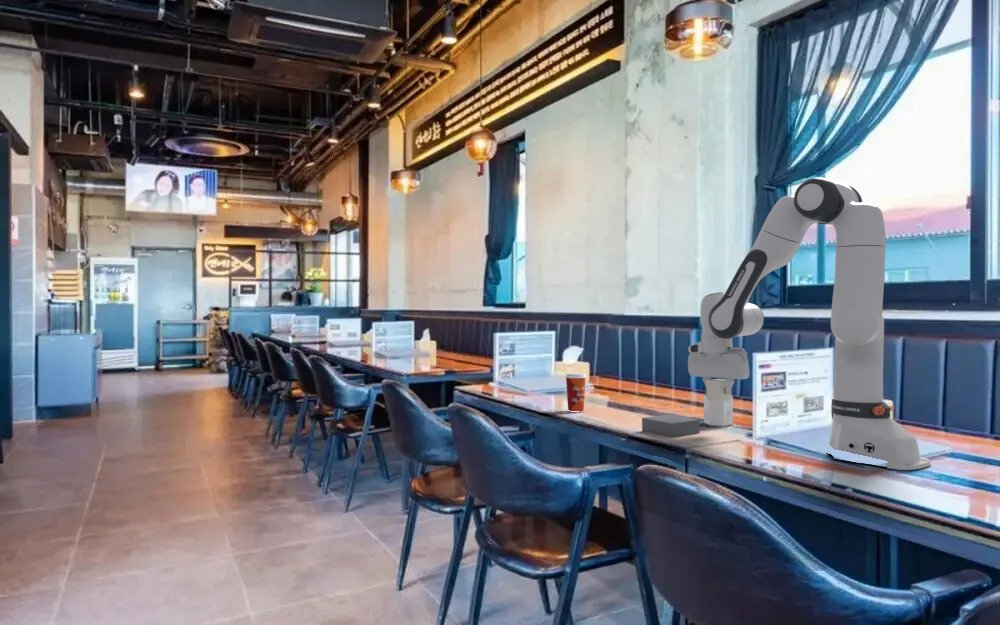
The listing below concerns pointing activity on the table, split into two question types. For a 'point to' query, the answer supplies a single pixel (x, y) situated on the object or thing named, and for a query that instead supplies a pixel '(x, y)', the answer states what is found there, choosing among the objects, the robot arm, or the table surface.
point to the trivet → (671, 425)
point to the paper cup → (575, 391)
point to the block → (717, 390)
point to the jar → (718, 412)
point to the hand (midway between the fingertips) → (718, 392)
